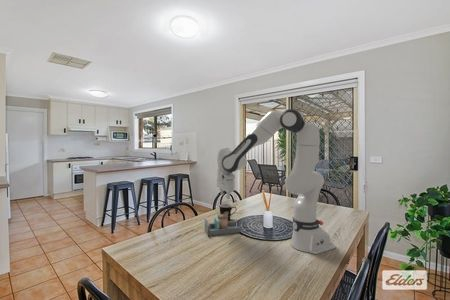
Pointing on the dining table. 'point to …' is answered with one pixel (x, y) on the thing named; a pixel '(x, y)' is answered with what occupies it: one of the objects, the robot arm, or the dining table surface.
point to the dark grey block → (212, 232)
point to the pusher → (216, 223)
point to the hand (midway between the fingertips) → (225, 196)
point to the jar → (223, 221)
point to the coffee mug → (226, 209)
